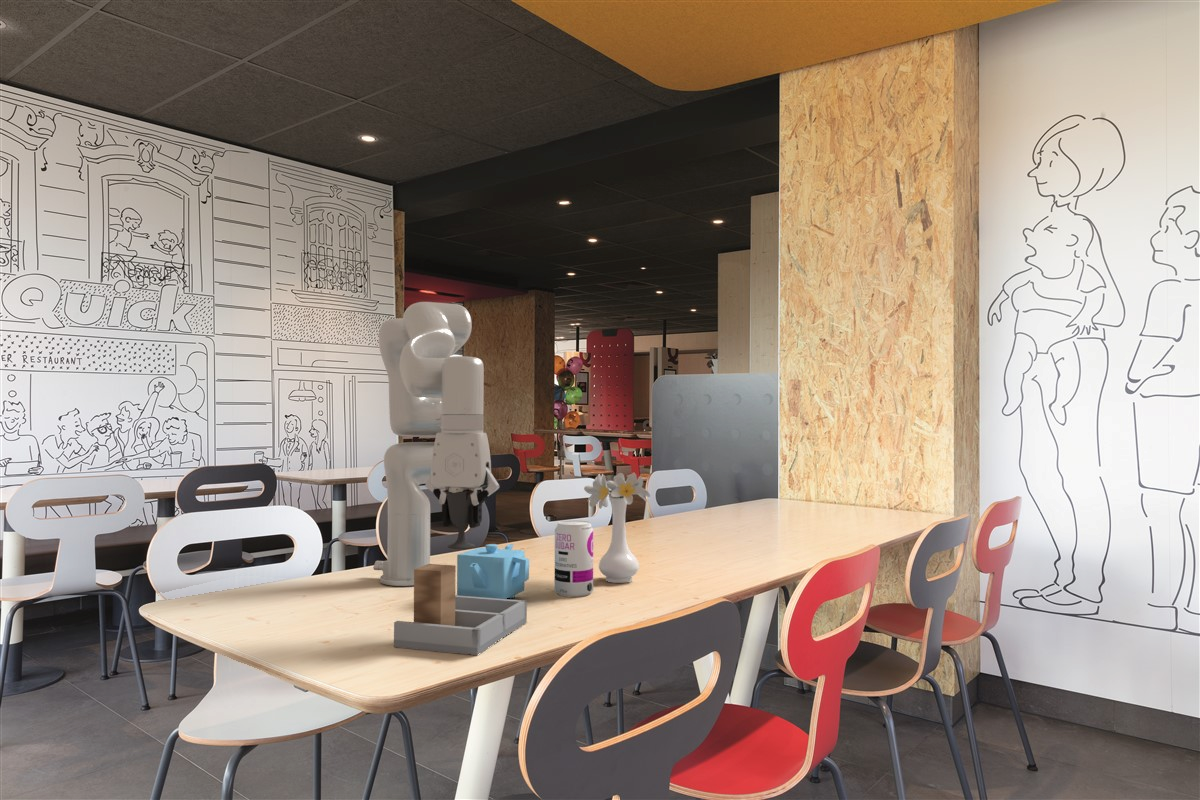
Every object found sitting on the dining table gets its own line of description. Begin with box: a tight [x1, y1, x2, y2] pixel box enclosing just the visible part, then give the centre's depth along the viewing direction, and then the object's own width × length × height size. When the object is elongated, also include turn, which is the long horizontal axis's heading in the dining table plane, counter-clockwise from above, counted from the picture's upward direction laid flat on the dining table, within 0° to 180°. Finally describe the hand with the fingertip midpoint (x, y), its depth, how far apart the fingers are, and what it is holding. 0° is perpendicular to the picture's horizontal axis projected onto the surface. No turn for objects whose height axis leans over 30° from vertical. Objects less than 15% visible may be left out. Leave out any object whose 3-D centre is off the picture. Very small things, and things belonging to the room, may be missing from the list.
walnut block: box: [413, 563, 457, 626], centre depth 128 cm, size 5×5×11 cm
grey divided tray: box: [393, 594, 528, 656], centre depth 131 cm, size 15×20×4 cm
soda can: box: [554, 520, 594, 598], centre depth 162 cm, size 8×8×15 cm
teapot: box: [456, 543, 530, 599], centre depth 157 cm, size 16×18×11 cm
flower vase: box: [583, 472, 651, 584], centre depth 175 cm, size 13×18×25 cm
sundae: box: [443, 487, 480, 550], centre depth 137 cm, size 7×7×15 cm
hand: (461, 525), depth 137 cm, fingers closed on sundae, 4 cm apart
